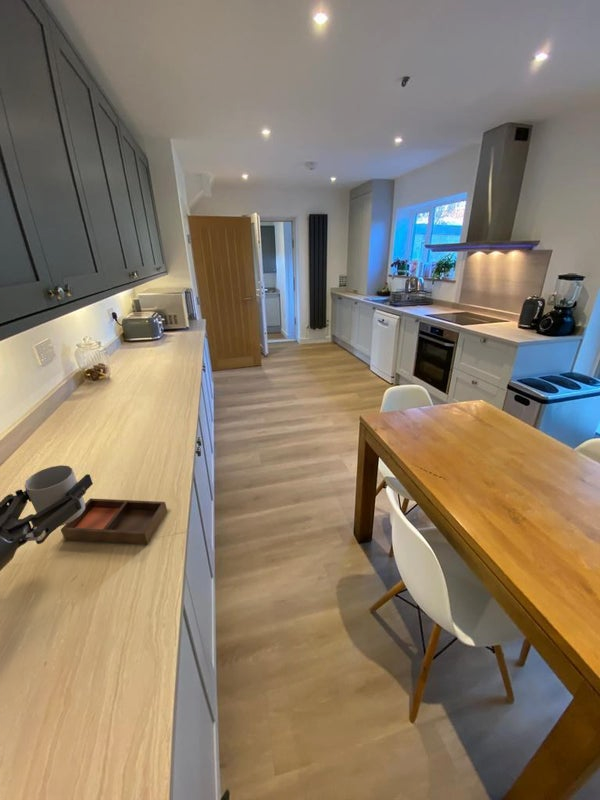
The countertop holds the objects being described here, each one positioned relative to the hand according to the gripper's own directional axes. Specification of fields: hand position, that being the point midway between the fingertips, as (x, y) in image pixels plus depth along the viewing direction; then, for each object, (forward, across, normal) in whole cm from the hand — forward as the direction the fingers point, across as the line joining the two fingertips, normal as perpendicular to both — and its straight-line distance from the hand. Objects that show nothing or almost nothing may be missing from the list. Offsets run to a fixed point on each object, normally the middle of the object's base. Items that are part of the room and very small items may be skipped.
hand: (70, 478), depth 74 cm
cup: (-5, 0, -6) cm, 8 cm away
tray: (+4, +5, -18) cm, 19 cm away
